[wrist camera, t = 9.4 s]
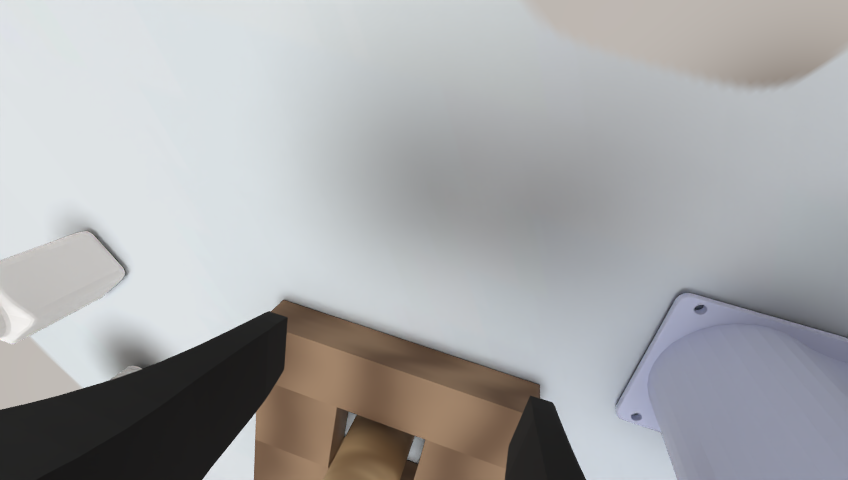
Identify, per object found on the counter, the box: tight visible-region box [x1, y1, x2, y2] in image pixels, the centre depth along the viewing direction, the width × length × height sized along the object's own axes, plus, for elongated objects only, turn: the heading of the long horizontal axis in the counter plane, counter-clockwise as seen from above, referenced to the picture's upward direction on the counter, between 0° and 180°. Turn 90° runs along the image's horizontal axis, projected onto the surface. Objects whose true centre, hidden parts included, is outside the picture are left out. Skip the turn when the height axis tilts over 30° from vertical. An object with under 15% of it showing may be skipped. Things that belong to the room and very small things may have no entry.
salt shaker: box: [0, 231, 125, 344], centre depth 24 cm, size 4×4×10 cm
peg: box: [323, 415, 414, 480], centre depth 24 cm, size 4×4×8 cm
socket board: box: [254, 300, 540, 480], centre depth 26 cm, size 16×14×2 cm
